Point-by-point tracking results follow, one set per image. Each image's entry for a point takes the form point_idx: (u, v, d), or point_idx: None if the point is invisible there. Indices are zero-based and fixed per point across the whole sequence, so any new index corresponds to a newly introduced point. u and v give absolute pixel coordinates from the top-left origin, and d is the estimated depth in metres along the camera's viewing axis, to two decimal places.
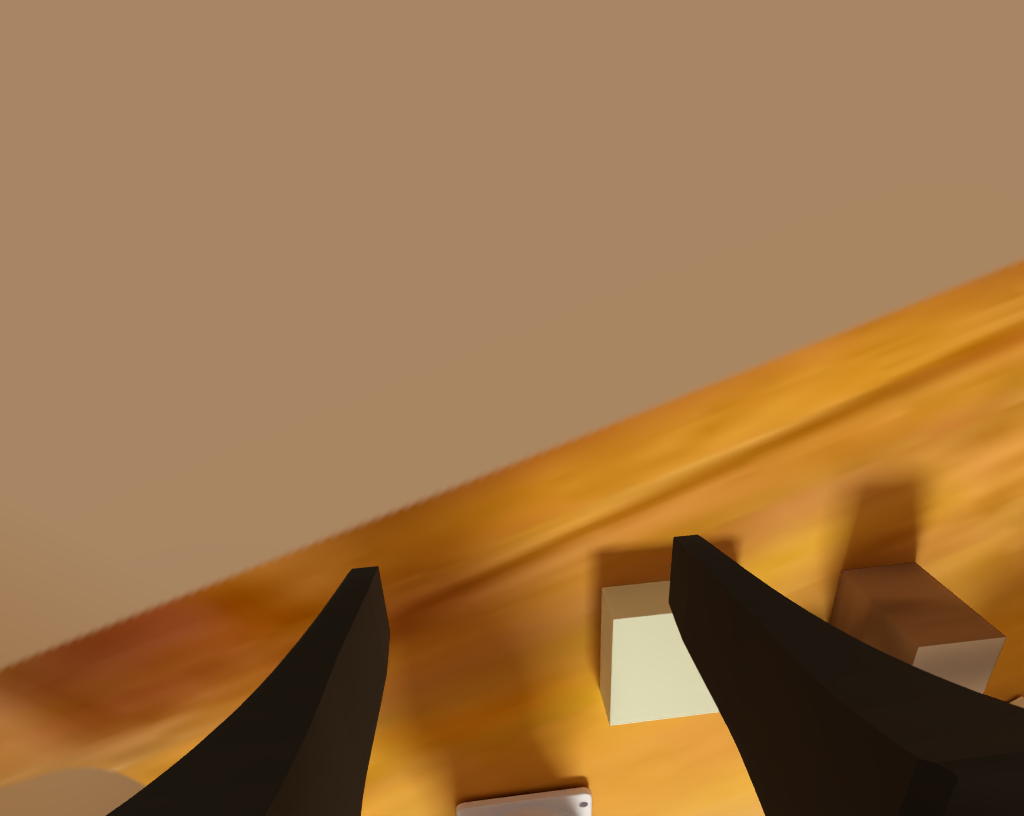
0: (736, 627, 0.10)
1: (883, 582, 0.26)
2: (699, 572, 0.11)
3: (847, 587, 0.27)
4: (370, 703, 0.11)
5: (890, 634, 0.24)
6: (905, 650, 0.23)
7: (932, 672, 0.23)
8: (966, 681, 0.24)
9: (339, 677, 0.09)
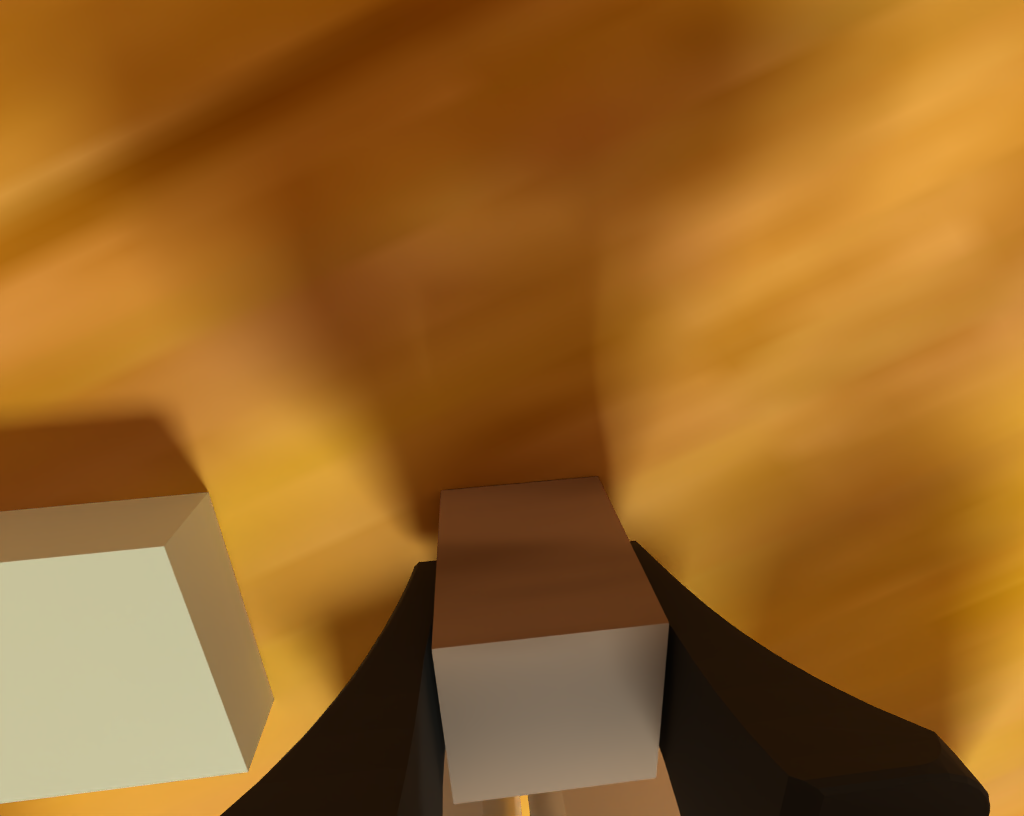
0: None
1: (499, 511, 0.12)
2: None
3: None
4: None
5: None
6: None
7: (503, 711, 0.09)
8: (604, 731, 0.10)
9: (427, 667, 0.09)
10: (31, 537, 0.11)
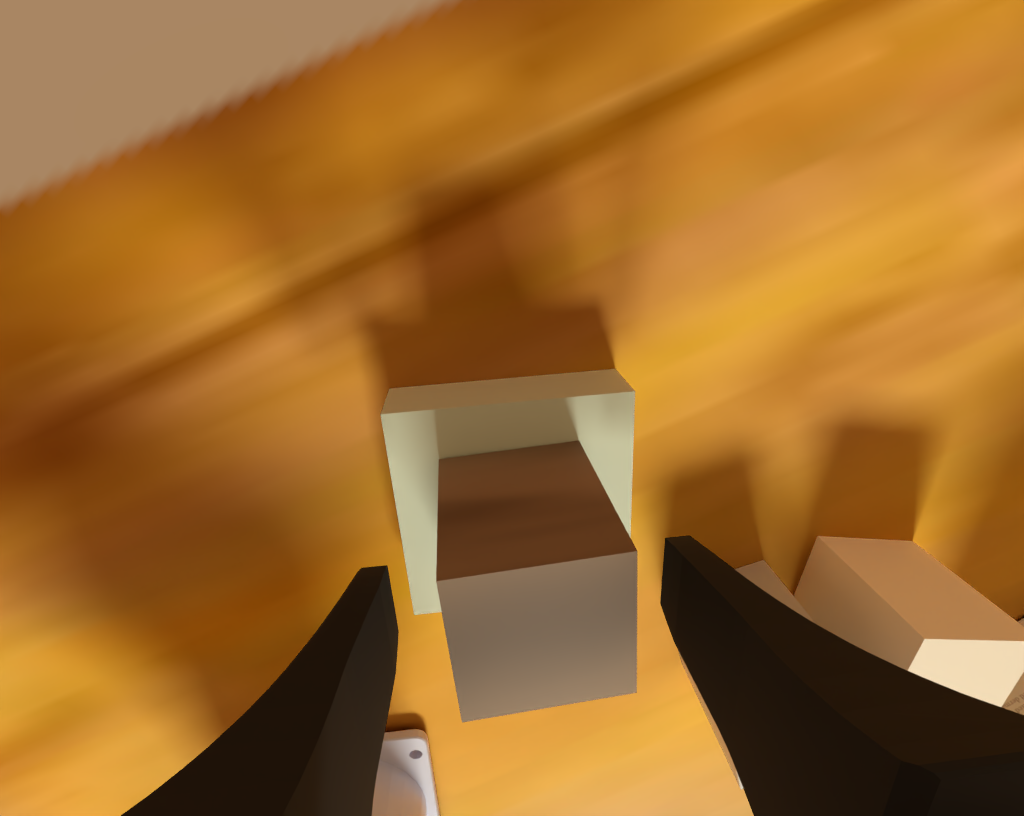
0: (725, 628, 0.10)
1: (491, 473, 0.14)
2: (690, 573, 0.11)
3: None
4: (380, 701, 0.11)
5: None
6: None
7: (500, 636, 0.11)
8: (588, 651, 0.11)
9: (351, 676, 0.09)
10: (519, 390, 0.15)
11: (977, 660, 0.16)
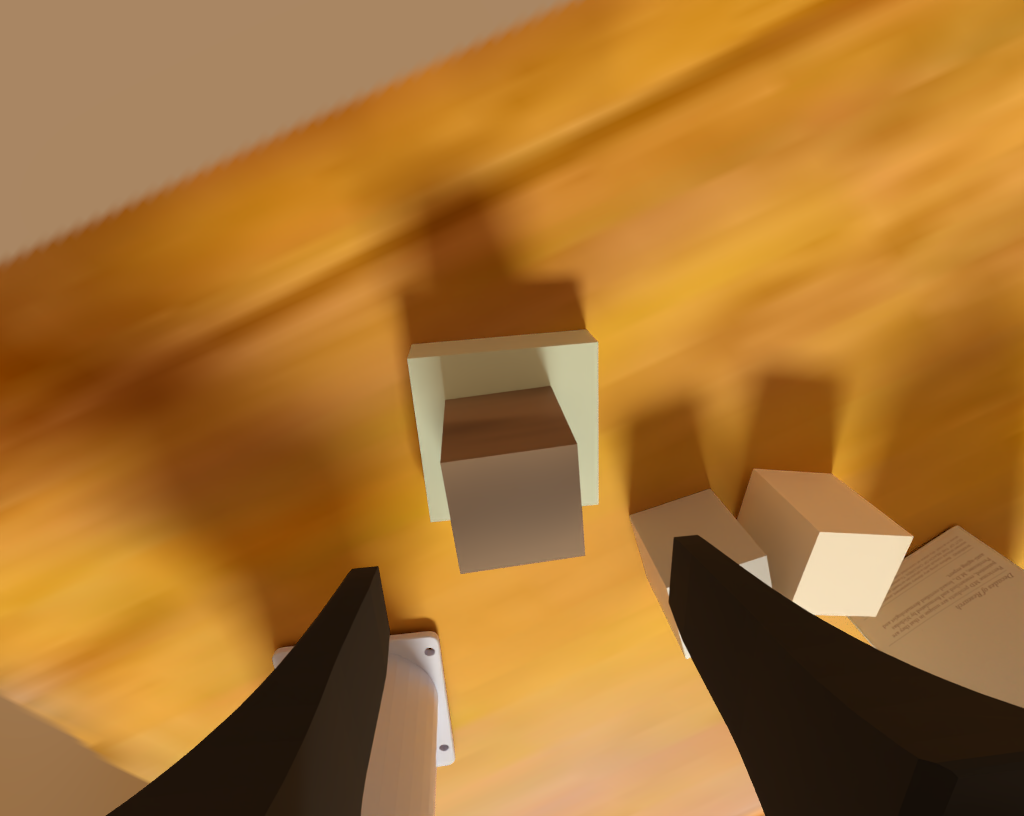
0: (736, 627, 0.10)
1: (483, 406, 0.19)
2: (699, 572, 0.11)
3: None
4: (370, 703, 0.11)
5: None
6: None
7: (485, 506, 0.16)
8: (547, 520, 0.16)
9: (340, 676, 0.09)
10: (511, 343, 0.20)
11: (863, 551, 0.21)
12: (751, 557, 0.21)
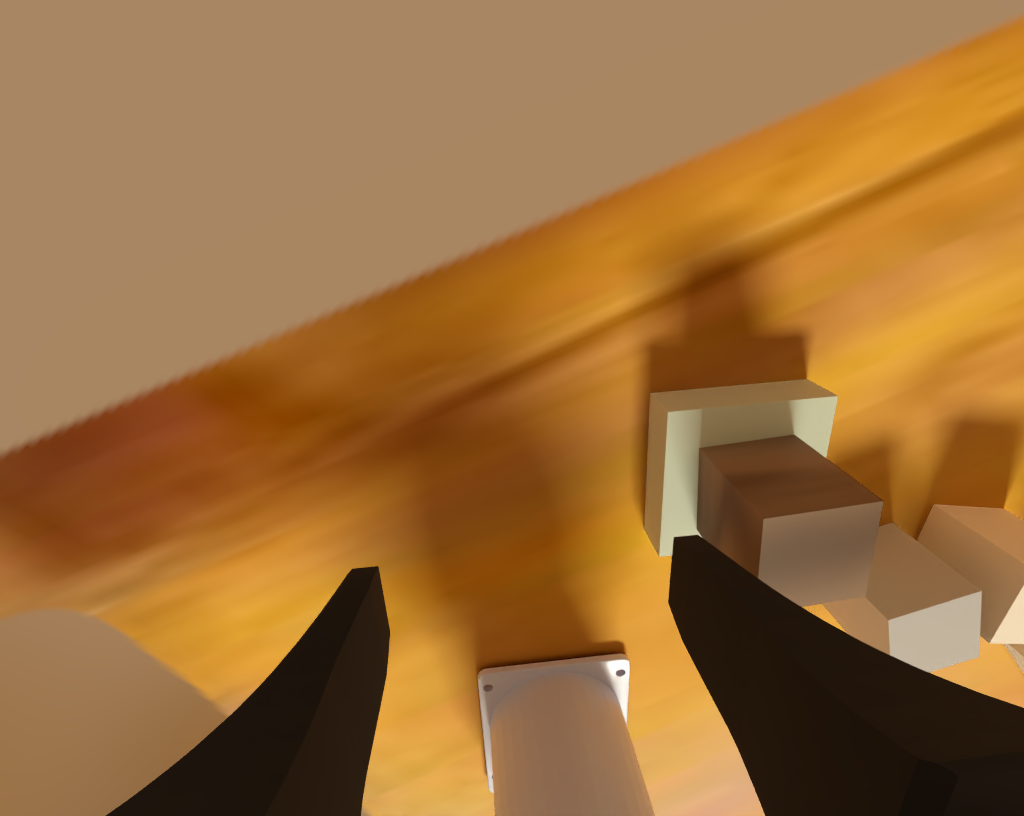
0: (736, 627, 0.10)
1: (746, 456, 0.21)
2: (699, 572, 0.11)
3: (705, 468, 0.21)
4: (370, 703, 0.11)
5: (741, 513, 0.19)
6: (754, 528, 0.18)
7: (791, 555, 0.18)
8: (841, 566, 0.18)
9: (339, 677, 0.09)
10: (752, 395, 0.22)
11: None
12: (966, 592, 0.22)
